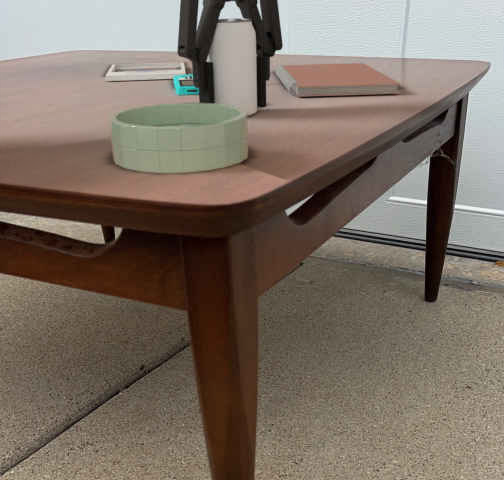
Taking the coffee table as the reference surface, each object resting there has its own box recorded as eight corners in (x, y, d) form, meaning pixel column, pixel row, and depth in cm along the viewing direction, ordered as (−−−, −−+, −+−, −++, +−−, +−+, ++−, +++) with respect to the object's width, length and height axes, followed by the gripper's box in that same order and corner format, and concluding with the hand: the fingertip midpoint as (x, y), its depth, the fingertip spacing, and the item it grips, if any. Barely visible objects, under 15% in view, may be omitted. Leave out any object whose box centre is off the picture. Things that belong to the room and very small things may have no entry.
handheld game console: (228, 79, 126) (228, 71, 125) (239, 92, 112) (238, 83, 111) (173, 81, 125) (172, 73, 124) (177, 95, 110) (176, 86, 110)
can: (239, 108, 98) (236, 17, 93) (266, 114, 94) (265, 19, 88) (201, 113, 95) (196, 20, 90) (227, 120, 90) (224, 22, 85)
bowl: (151, 190, 61) (147, 134, 59) (93, 161, 71) (88, 112, 69) (274, 167, 68) (273, 115, 66) (205, 143, 78) (203, 98, 76)
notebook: (274, 75, 130) (274, 64, 129) (362, 72, 131) (362, 61, 130) (290, 98, 105) (290, 84, 104) (399, 95, 106) (400, 81, 105)
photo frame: (105, 74, 125) (112, 63, 142) (105, 81, 126) (113, 69, 142) (185, 71, 127) (183, 61, 143) (186, 78, 127) (183, 66, 143)
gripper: (167, -86, 76) (180, 122, 86) (312, -82, 87) (309, 104, 96) (138, -81, 82) (153, 114, 92) (277, -78, 92) (278, 98, 102)
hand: (233, 109), depth 94 cm, fingers open, 8 cm apart
